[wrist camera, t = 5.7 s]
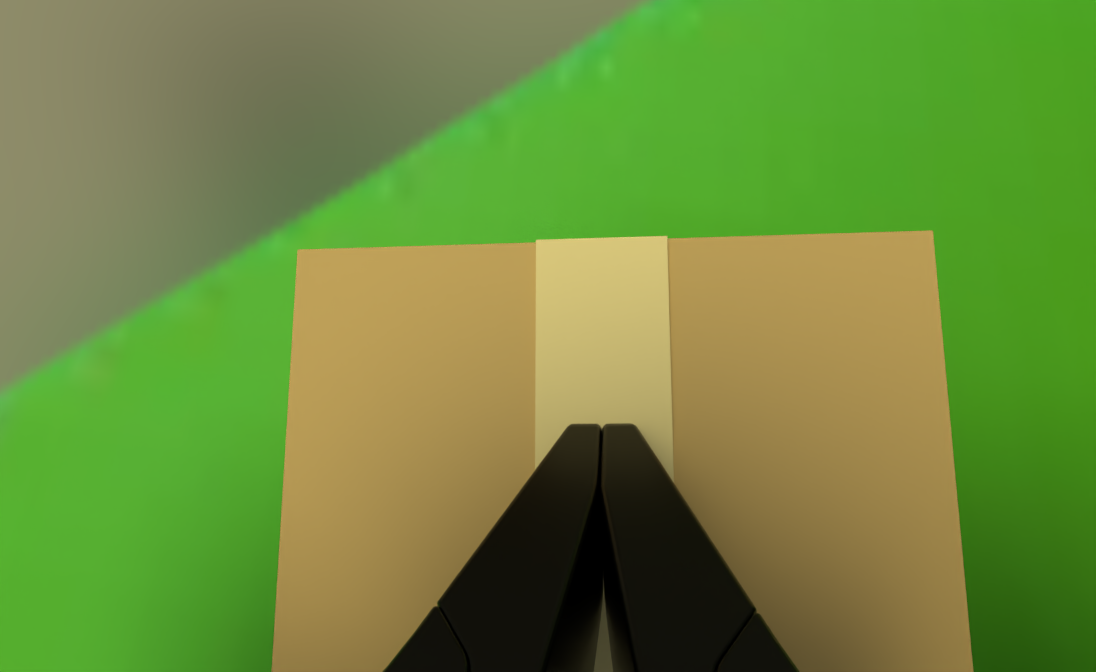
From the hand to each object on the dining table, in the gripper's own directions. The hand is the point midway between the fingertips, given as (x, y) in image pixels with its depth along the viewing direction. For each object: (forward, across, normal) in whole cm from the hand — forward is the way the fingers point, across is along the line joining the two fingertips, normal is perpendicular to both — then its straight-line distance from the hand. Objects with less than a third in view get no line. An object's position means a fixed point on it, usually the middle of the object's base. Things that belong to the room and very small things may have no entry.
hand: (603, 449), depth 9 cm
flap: (0, 0, +1) cm, 1 cm away
